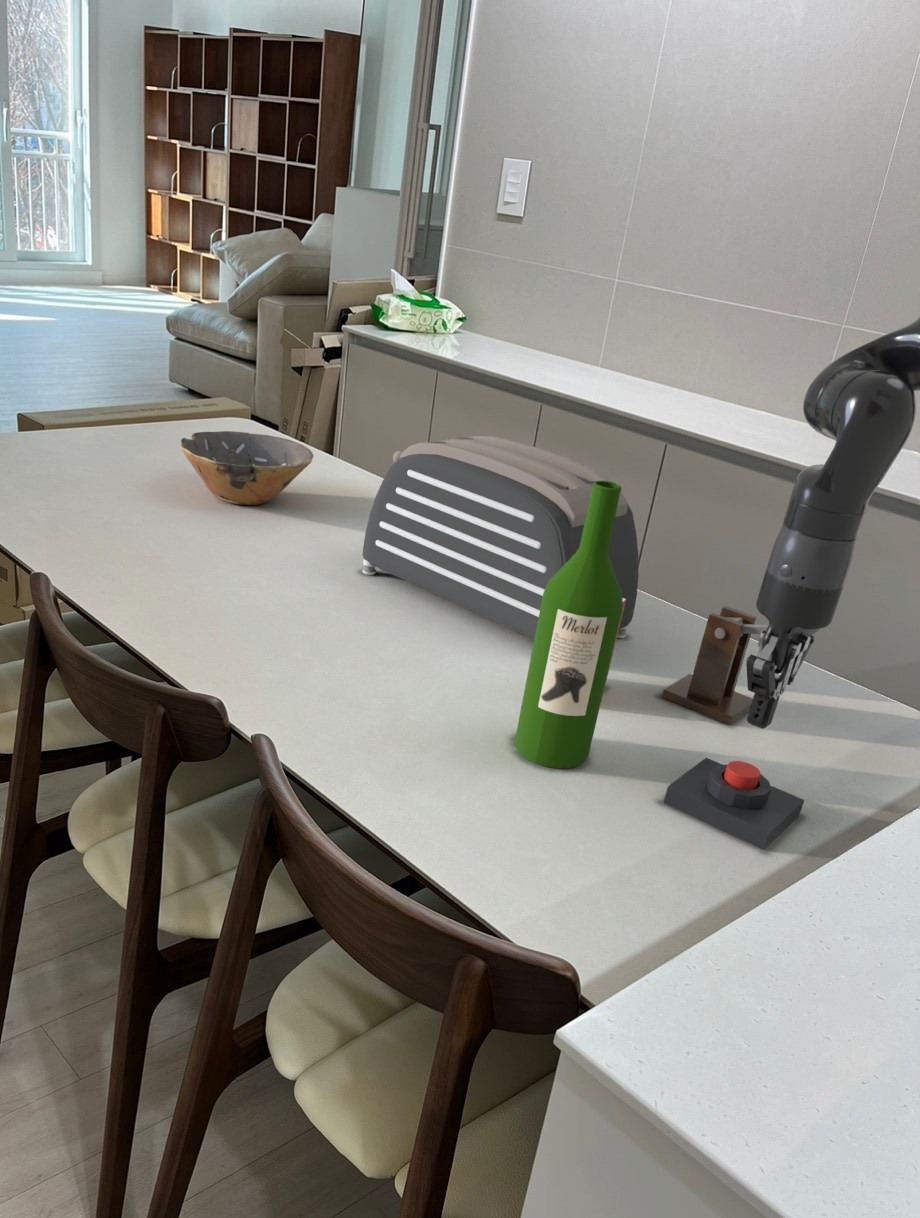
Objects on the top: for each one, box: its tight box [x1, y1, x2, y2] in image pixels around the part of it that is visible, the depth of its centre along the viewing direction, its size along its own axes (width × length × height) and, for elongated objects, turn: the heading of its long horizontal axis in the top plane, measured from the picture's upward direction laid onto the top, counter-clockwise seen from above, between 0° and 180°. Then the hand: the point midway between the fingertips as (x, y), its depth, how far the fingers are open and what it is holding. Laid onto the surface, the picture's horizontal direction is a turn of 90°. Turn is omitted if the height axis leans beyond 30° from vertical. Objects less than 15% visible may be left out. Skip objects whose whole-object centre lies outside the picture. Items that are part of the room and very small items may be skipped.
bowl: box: [179, 430, 314, 506], centre depth 199 cm, size 25×25×10 cm
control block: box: [663, 757, 805, 850], centre depth 118 cm, size 12×10×4 cm
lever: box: [726, 617, 820, 637], centre depth 136 cm, size 12×5×2 cm, turn 49°
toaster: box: [362, 435, 640, 640], centre depth 163 cm, size 19×45×24 cm, turn 44°
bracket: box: [661, 605, 757, 726], centre depth 141 cm, size 10×8×13 cm
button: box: [724, 760, 762, 790], centre depth 117 cm, size 4×4×2 cm
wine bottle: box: [514, 481, 623, 769], centre depth 119 cm, size 9×9×32 cm
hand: (758, 723), depth 114 cm, fingers closed
